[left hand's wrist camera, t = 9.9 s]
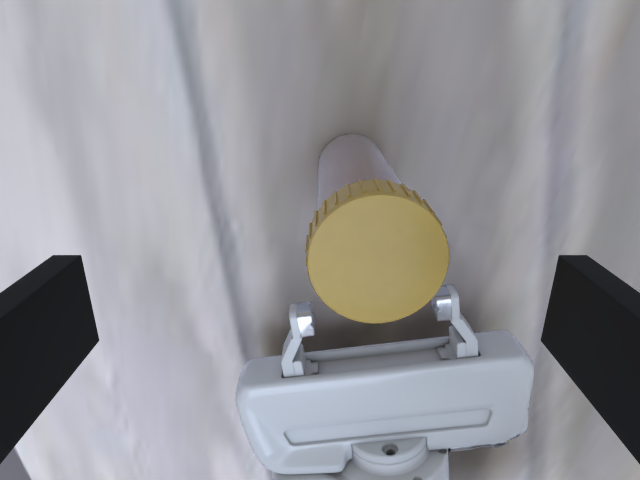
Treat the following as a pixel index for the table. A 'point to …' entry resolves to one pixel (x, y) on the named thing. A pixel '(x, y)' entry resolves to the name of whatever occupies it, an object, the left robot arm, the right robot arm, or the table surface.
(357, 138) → the jar
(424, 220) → the lid
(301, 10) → the table surface
